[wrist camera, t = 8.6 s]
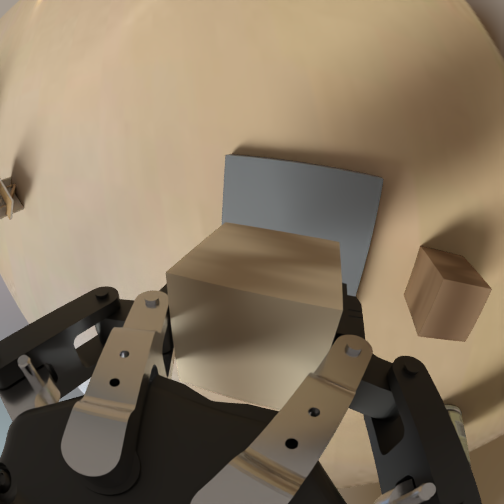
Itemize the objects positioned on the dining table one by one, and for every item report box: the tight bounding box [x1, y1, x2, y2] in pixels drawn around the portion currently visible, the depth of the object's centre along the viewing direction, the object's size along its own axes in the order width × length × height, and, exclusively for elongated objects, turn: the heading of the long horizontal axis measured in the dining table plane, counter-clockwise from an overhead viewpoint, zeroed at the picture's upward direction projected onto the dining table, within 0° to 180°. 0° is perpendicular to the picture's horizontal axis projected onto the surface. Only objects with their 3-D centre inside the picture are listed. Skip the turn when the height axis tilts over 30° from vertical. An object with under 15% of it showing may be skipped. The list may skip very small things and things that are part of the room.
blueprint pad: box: [222, 154, 383, 296], centre depth 18 cm, size 10×10×1 cm
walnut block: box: [404, 246, 492, 342], centre depth 15 cm, size 4×4×5 cm
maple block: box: [166, 222, 343, 410], centre depth 10 cm, size 5×5×5 cm
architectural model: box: [0, 177, 24, 220], centre depth 23 cm, size 3×7×7 cm, turn 52°
